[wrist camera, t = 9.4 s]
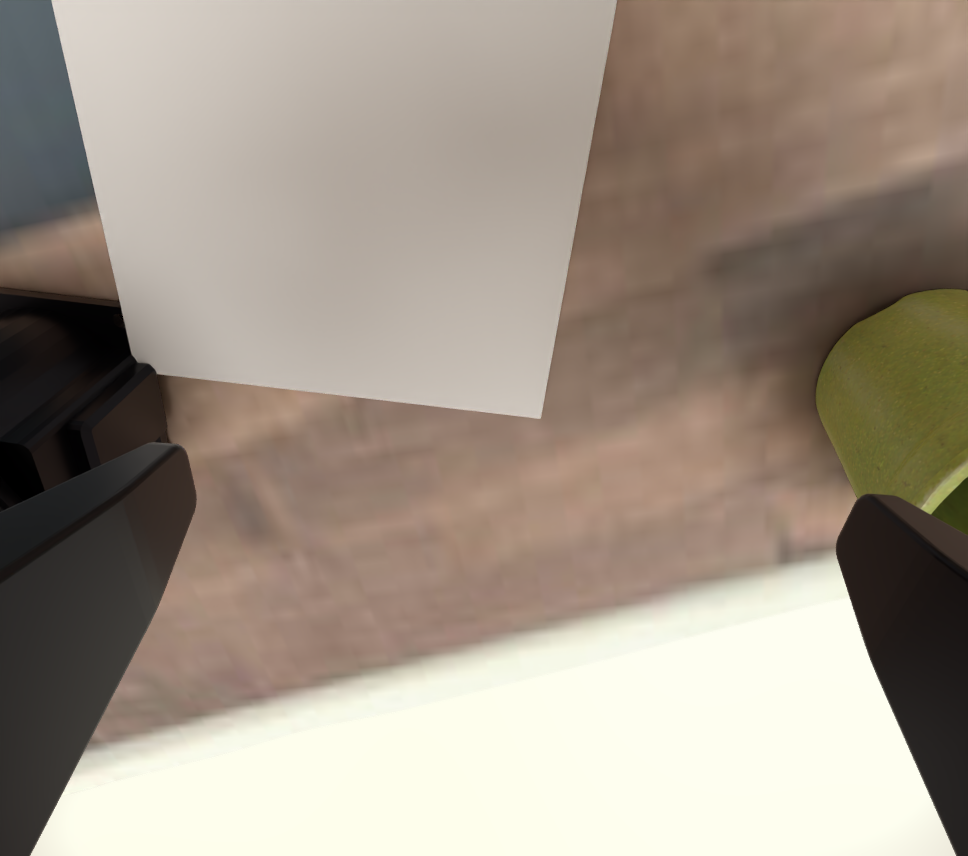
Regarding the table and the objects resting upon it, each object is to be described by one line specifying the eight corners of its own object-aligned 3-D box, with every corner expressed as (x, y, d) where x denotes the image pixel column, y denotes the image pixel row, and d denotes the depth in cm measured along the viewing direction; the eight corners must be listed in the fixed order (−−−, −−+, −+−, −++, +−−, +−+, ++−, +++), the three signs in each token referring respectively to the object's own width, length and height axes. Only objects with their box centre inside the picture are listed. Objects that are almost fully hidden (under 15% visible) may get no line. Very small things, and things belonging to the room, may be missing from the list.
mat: (147, 360, 22) (135, 371, 21) (32, -178, 14) (9, -187, 14) (540, 406, 22) (540, 418, 22) (631, -100, 15) (636, -106, 14)
